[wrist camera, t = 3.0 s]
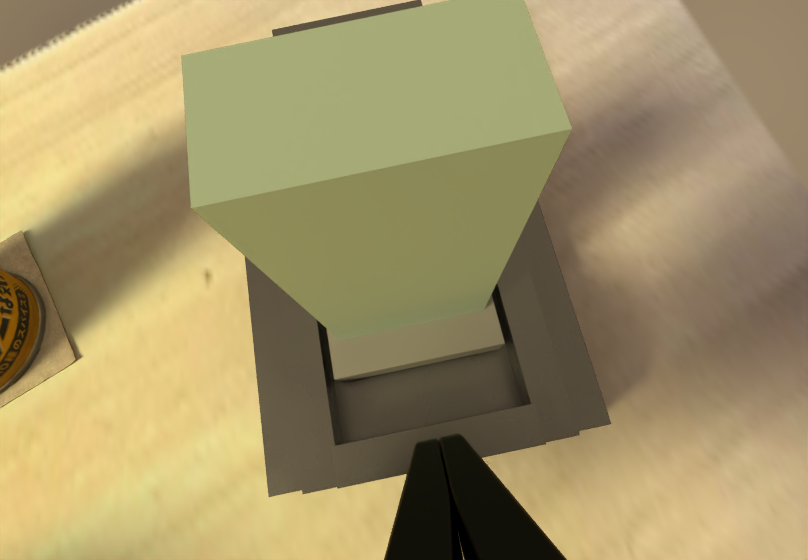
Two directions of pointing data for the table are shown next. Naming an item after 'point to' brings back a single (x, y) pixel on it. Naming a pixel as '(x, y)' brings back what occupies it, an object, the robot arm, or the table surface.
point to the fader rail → (421, 375)
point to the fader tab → (380, 170)
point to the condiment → (27, 323)
